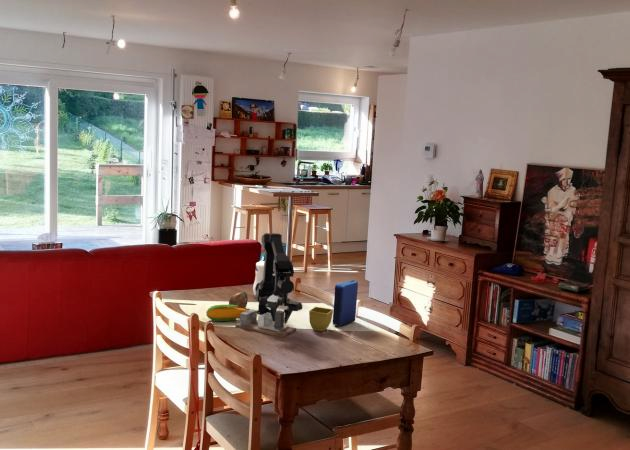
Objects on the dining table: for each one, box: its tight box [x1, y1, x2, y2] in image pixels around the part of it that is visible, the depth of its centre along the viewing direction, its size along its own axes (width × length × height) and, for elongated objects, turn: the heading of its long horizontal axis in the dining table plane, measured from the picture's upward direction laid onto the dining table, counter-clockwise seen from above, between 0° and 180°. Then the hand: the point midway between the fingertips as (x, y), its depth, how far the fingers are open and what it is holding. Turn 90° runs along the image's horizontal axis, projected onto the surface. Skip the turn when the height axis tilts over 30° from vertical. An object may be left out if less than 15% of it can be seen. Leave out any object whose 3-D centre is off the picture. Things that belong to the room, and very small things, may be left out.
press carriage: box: [257, 309, 290, 332], centre depth 301 cm, size 8×11×8 cm
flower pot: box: [308, 306, 334, 332], centre depth 306 cm, size 9×9×9 cm
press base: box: [234, 308, 297, 338], centre depth 303 cm, size 12×24×6 cm, turn 63°
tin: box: [228, 291, 249, 309], centre depth 329 cm, size 15×3×8 cm, turn 158°
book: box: [332, 279, 359, 327], centre depth 316 cm, size 14×5×20 cm, turn 145°
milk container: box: [252, 260, 287, 297], centre depth 356 cm, size 17×17×18 cm
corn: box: [205, 304, 248, 322], centre depth 313 cm, size 7×8×20 cm
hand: (279, 322), depth 300 cm, fingers open, 5 cm apart
